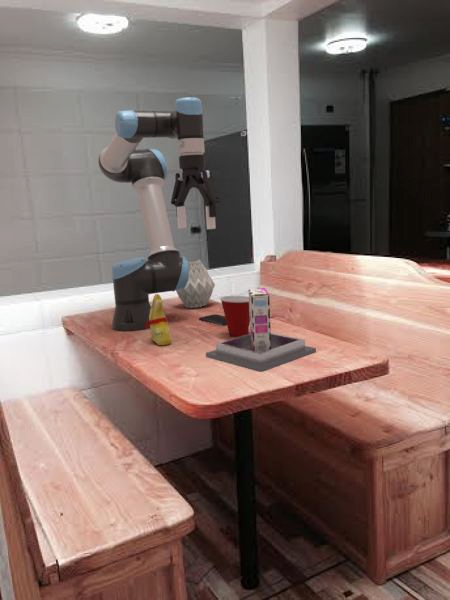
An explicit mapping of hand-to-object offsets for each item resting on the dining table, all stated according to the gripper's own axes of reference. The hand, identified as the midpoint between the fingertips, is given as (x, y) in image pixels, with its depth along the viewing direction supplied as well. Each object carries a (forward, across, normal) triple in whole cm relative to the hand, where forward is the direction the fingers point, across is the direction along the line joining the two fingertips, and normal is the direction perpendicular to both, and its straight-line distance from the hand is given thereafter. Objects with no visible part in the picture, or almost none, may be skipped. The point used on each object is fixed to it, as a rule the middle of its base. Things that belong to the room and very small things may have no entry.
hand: (196, 228), depth 159 cm
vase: (+35, -41, +30) cm, 61 cm away
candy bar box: (+32, +27, -2) cm, 42 cm away
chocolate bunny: (+34, -7, -12) cm, 37 cm away
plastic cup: (+34, +7, +9) cm, 36 cm away
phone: (+35, -13, +18) cm, 41 cm away
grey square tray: (+33, +27, -2) cm, 43 cm away
